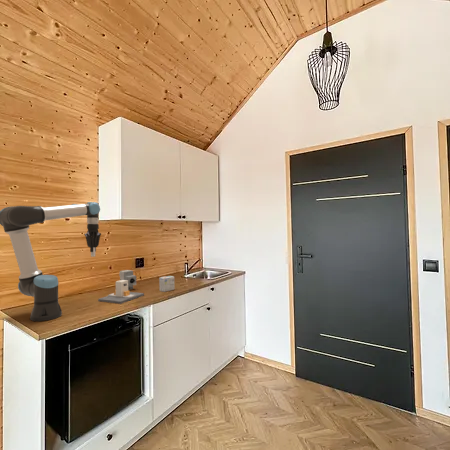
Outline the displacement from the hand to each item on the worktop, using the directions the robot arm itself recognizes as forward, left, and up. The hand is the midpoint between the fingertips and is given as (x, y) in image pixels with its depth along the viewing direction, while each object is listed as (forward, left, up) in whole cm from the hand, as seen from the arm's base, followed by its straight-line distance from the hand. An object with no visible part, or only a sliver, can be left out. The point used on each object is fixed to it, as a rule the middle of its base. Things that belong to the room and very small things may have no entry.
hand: (93, 256), depth 197 cm
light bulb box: (+40, -36, -31) cm, 62 cm away
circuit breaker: (+32, -4, -31) cm, 44 cm away
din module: (+8, -19, -28) cm, 35 cm away
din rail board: (+8, -19, -30) cm, 36 cm away
